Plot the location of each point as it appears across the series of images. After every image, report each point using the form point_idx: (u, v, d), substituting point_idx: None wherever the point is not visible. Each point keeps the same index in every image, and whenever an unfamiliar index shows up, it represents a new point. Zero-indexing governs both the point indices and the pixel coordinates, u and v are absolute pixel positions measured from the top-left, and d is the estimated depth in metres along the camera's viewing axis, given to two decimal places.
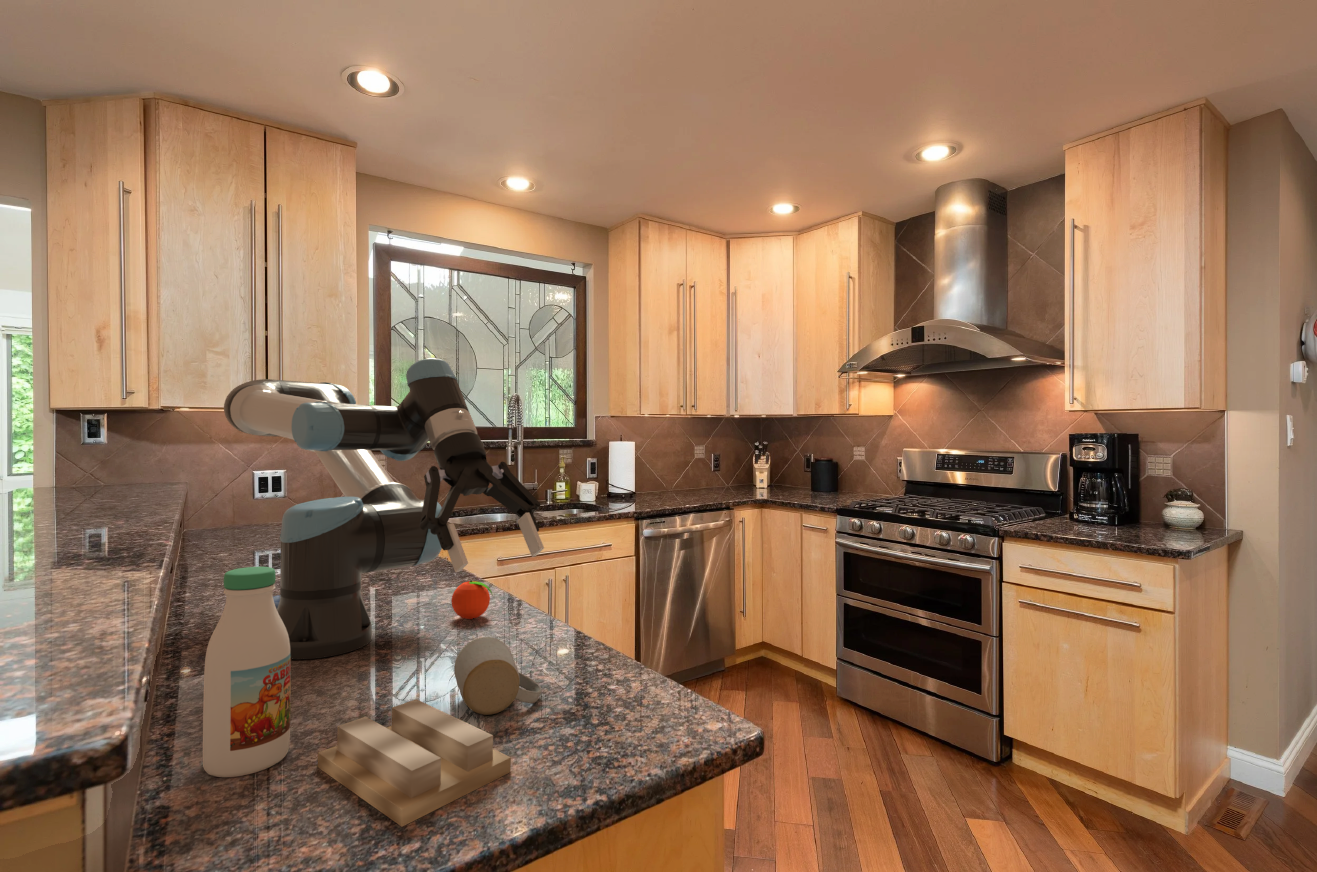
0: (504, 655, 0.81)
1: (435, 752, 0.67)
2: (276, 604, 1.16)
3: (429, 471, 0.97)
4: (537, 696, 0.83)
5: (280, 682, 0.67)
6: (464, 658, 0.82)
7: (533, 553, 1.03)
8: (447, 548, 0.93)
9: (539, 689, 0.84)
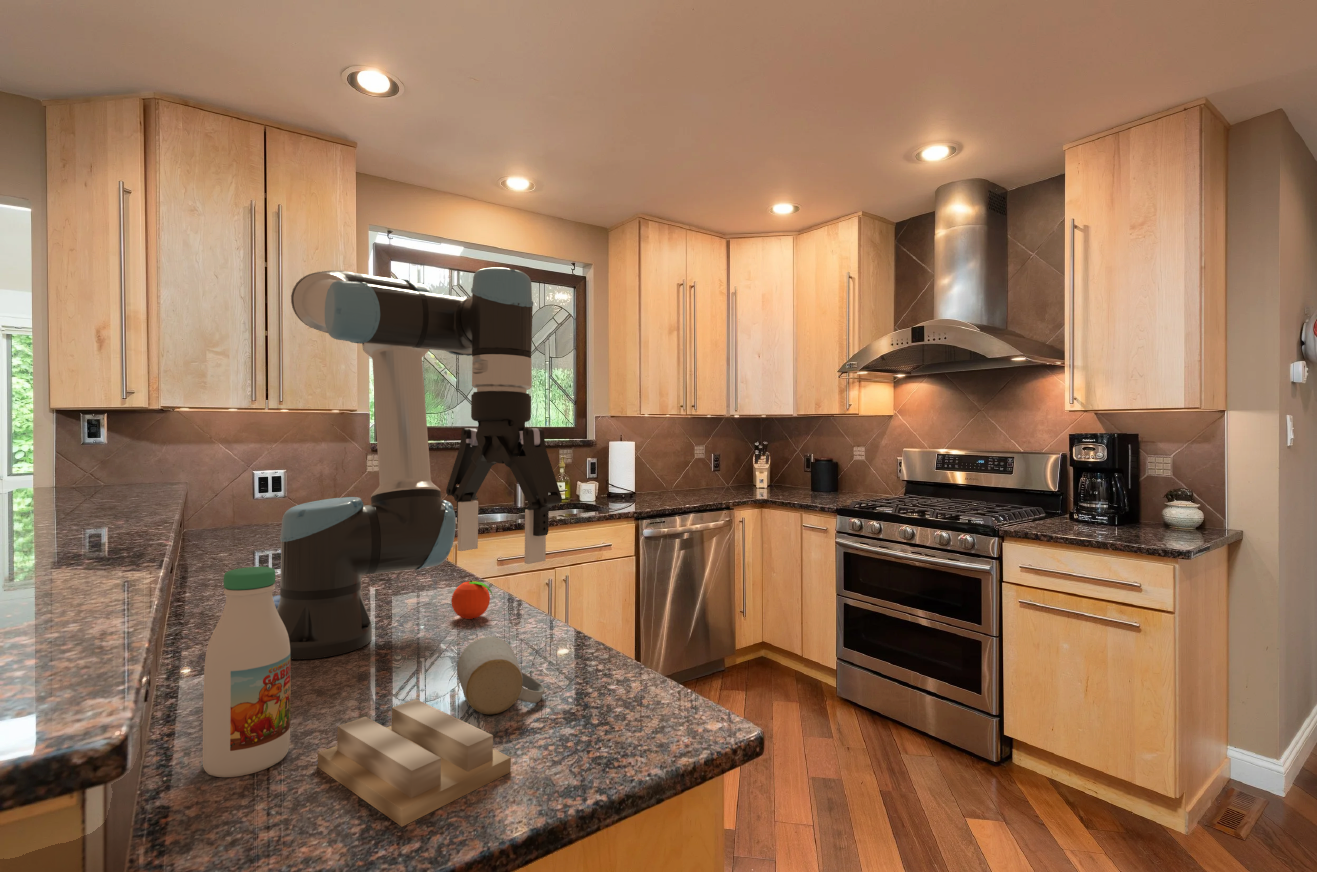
0: (507, 655, 0.82)
1: (435, 752, 0.67)
2: (276, 604, 1.16)
3: None
4: (540, 696, 0.83)
5: (280, 682, 0.67)
6: (467, 658, 0.82)
7: None
8: None
9: (542, 689, 0.85)
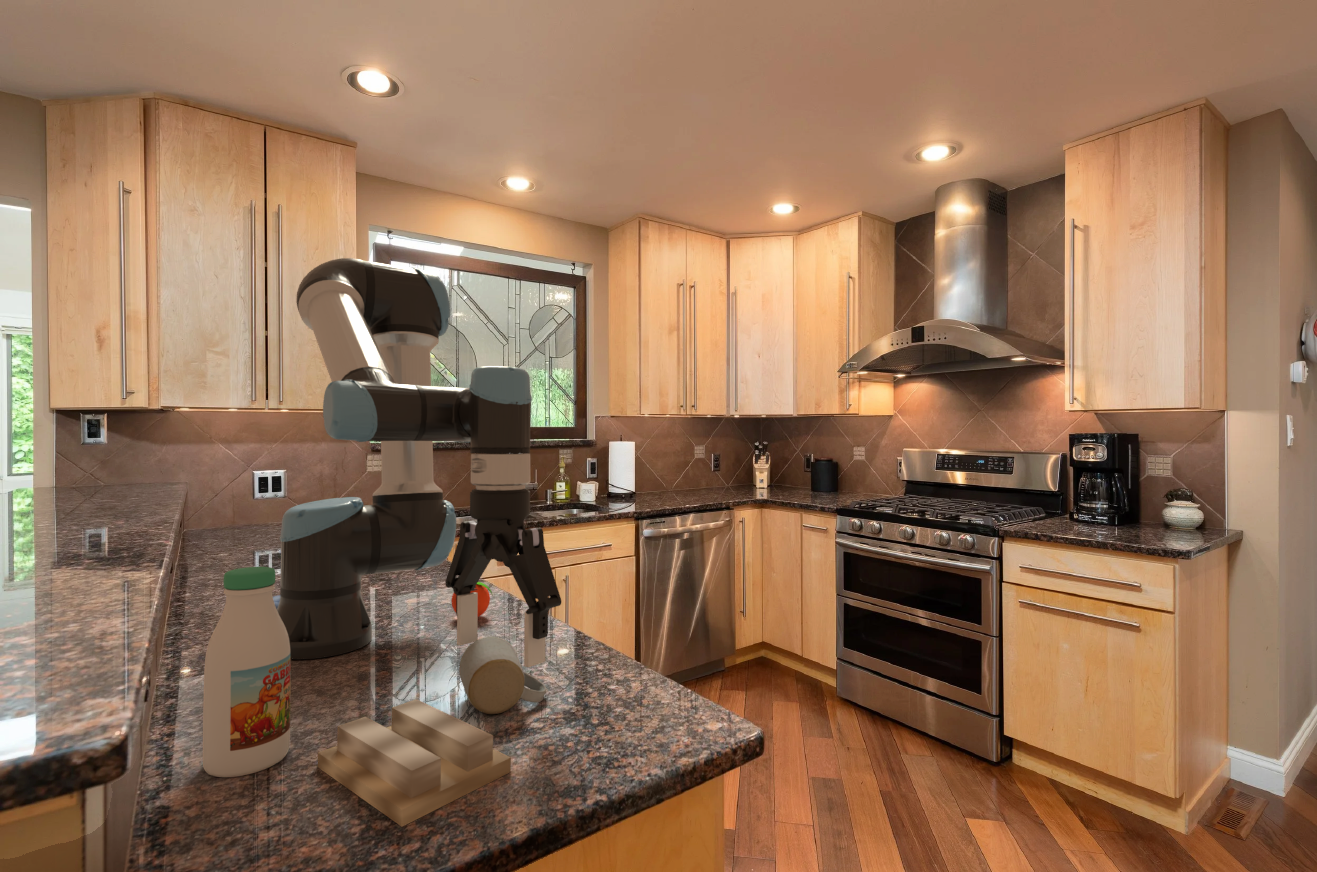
0: (509, 655, 0.82)
1: (435, 752, 0.67)
2: (277, 604, 1.16)
3: None
4: (542, 695, 0.83)
5: (280, 682, 0.67)
6: (469, 658, 0.82)
7: None
8: None
9: (544, 688, 0.85)
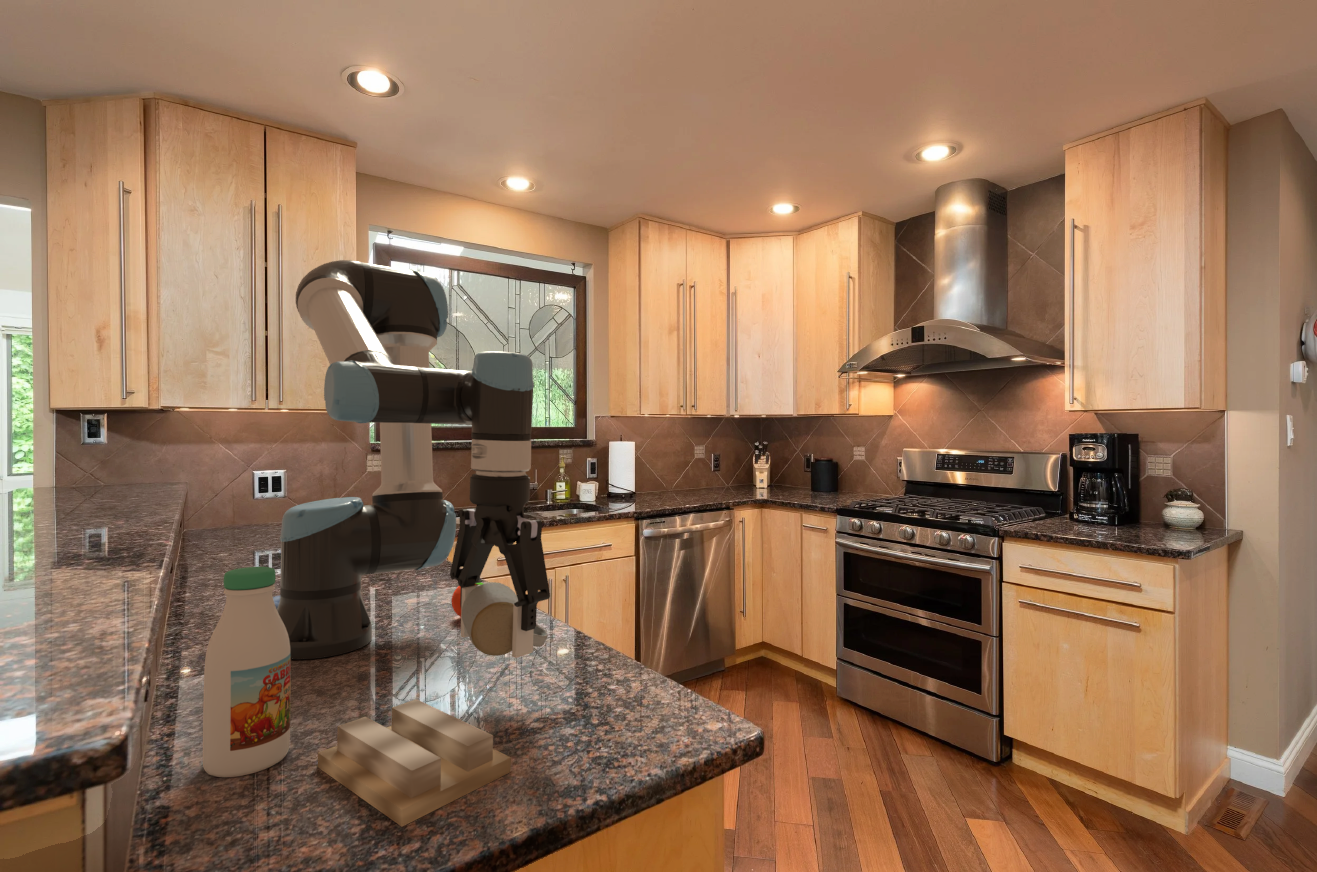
0: (512, 598, 0.82)
1: (435, 752, 0.67)
2: (277, 604, 1.16)
3: None
4: (543, 640, 0.84)
5: (280, 682, 0.67)
6: (472, 601, 0.83)
7: None
8: None
9: (545, 634, 0.85)
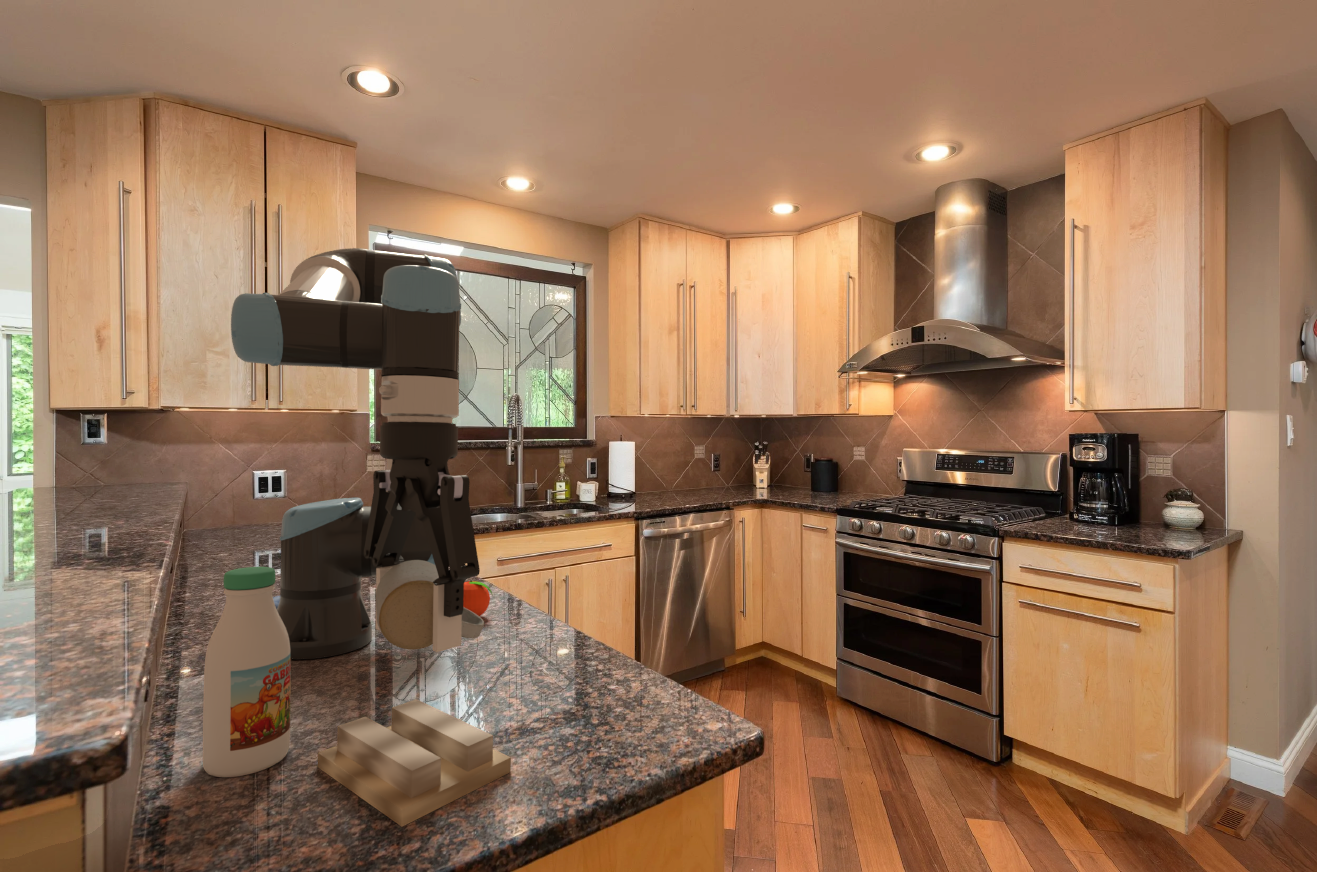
0: (435, 577, 0.65)
1: (435, 752, 0.67)
2: (278, 604, 1.15)
3: None
4: (477, 630, 0.67)
5: (280, 682, 0.67)
6: (385, 582, 0.66)
7: None
8: None
9: (481, 623, 0.68)
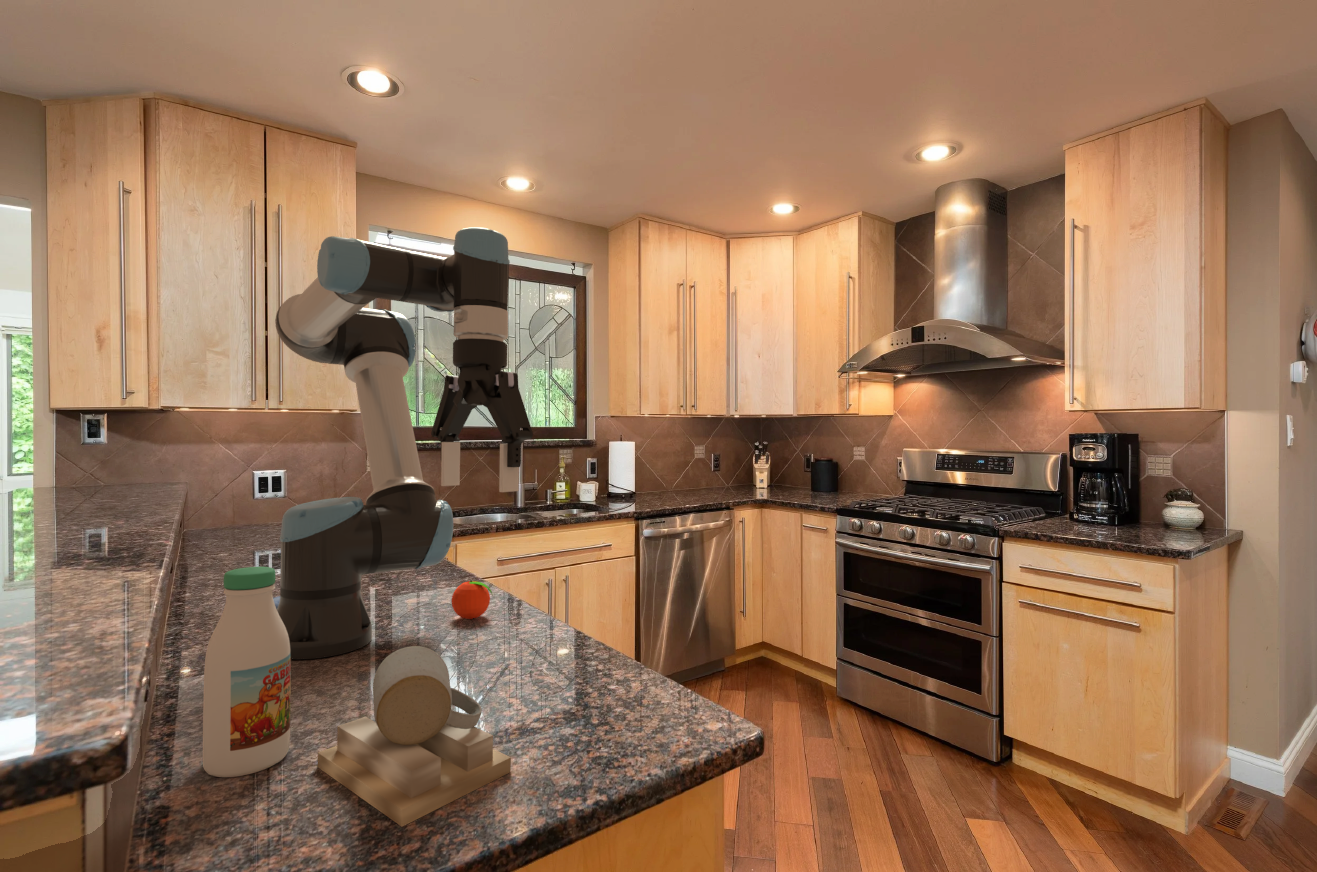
0: (432, 669, 0.65)
1: (435, 752, 0.67)
2: None
3: None
4: (475, 720, 0.67)
5: (280, 682, 0.67)
6: (382, 673, 0.65)
7: None
8: None
9: (479, 711, 0.68)
